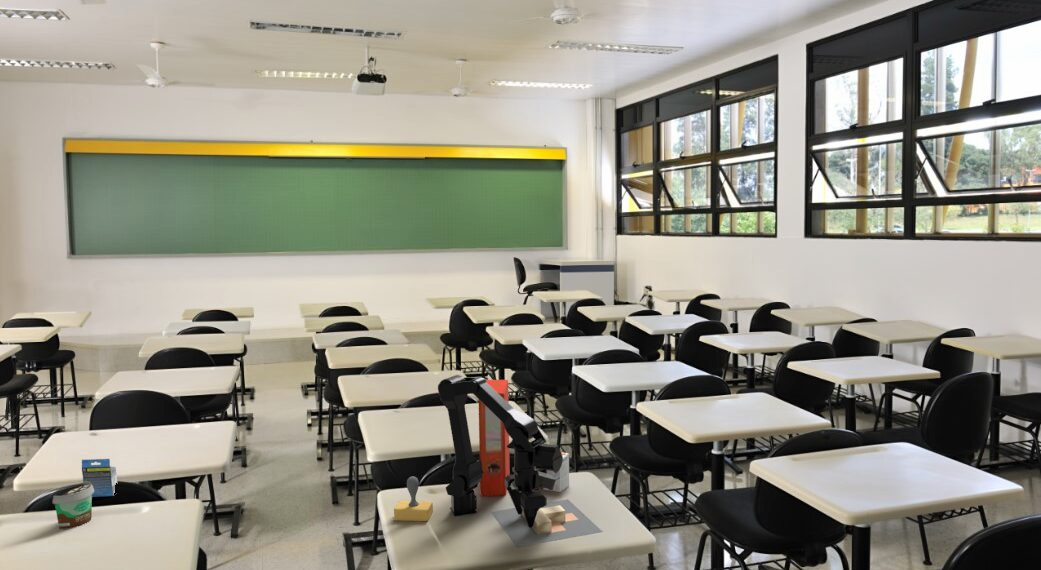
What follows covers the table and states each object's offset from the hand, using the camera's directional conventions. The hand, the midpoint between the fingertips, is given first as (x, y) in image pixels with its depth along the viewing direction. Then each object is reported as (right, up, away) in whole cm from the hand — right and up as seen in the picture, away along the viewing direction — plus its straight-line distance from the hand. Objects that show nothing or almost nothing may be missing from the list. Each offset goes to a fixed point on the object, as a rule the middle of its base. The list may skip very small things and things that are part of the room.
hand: (525, 520), depth 207 cm
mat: (+5, -1, +2) cm, 6 cm away
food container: (-128, -4, +10) cm, 128 cm away
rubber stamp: (-32, -2, +8) cm, 33 cm away
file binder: (-9, +1, +30) cm, 32 cm away
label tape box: (-133, -2, +31) cm, 137 cm away
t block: (+6, -1, +2) cm, 6 cm away
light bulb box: (+8, +1, +28) cm, 29 cm away
